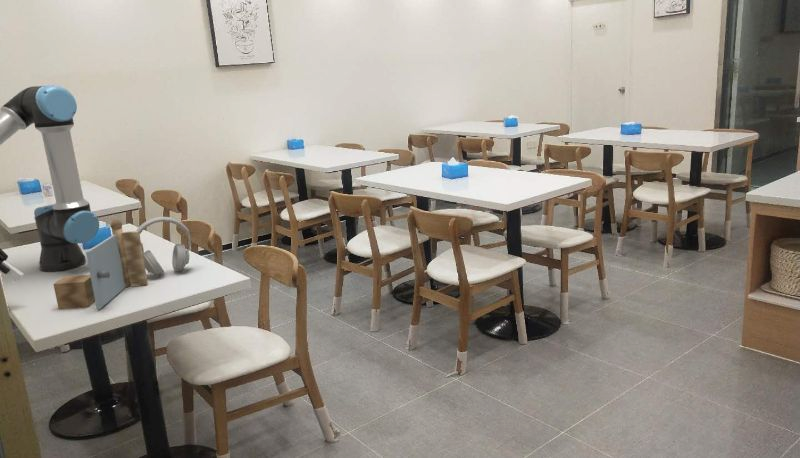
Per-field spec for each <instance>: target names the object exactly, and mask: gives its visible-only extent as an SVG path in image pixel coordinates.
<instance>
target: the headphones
mask: <svg viewBox="0 0 800 458" xmlns="http://www.w3.org/2000/svg"><path fill="white" fill-rule="evenodd" d="M161 222H167V223H171V224H173V225H175V226H177V227H179V228H180V229H181V230H182V231H183V232H184V233H185V235H186V237H187V241H188V245H187V247H188V248H186V245H185V244H184V243H183V244H181V243H179V244H178V243H175V245H174V246H173V250H172V257H171V258H172V259H171V260H172V261H171V262H172V263H171V264H172V269H173V271H180V272H183V270H184V269H185V267H186V265H188V264H189V263H190V252H189V251H190V249H191V246H192V242H191V241H192V240H191V234H190V230H189V228H188V227H187V226H186V225H185V224H184V223H182V222H181V221H180V220H178V219H176V218H173V217H169V216H156V217H152V218H149V219H148V220H146V221H144V222H143V223H141V224H140V225H139V227H138V228H136V230H135V231H139V234H140V235H141V233H142V232H143V231H144V230H145V229H146V228H147V227H149V226H151V225H153V224H157V223H161ZM143 258H144V264H145V270H146V272H147V273H148V274H153V275H155V276H157V277H160V275H162V274H163V273H165V270H164V269H163V267H162V265H161V264H160V263H159V261H158V260H157V258H156V257H155V256H154V254H153V252H152V251H151V249H148V250H146V251H144V253H143Z"/></svg>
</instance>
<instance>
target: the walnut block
mask: <svg viewBox="0 0 800 458" xmlns="http://www.w3.org/2000/svg"><path fill="white" fill-rule="evenodd" d="M53 289H54V293H55V298H56V304H57V308H58V310H63V309H64V310H66V309H79V308H90V307H91V306H92V305H93V304H96V302H95V297H94V292H93V287H92V281H91V276H90V274H80V275H68V276H67V275H65V276H63V277H62V278H60V279H58V280H57V281H56V282H54V283H53Z"/></svg>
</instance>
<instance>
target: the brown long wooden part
mask: <svg viewBox="0 0 800 458" xmlns="http://www.w3.org/2000/svg"><path fill="white" fill-rule="evenodd" d="M110 228H111V232H112V235H117V240H118V245H119V250H120V258H121V264H122V269H123V273H124V279H125V286H126V287H125V288H129V287H142V286H147V285H148V284H149V282H148V276H147V270H146V269H145V264H144V258H143V252H142V246H141V243H142V239H141V234H139V231H136V230H134V231H132V230H131V231H124V230H123V223H122V221H120V220H119V219H115V220H112V221H111V222H110ZM125 288H124V289H125Z"/></svg>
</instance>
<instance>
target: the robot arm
mask: <svg viewBox="0 0 800 458" xmlns="http://www.w3.org/2000/svg"><path fill="white" fill-rule="evenodd" d="M77 105H78V103H77V101H76V99H75V97H74V95H73V94H72V93H71V92H70V91H69V90H68V89H67V88H65V87H62V86H60V85H59V86H58V85H55V84H54V85H53V84H52V85H50V84H48V85H40V86H38V85H35V86H29V87H26V88H24V89H23V90H20V92H18V93H17V94H15V95H14V96H13V97H12V98H10V99H9V100H8V101H6V103H4V104H3V105H2V106H1V107H0V146H2V144H4V143H5V142H6V141H7V140H8V139H10V138H12V136H14V134H16V133H17V132H18V131H19V130H24V131H25V130H26V129H27V128H29V127H30V126H31V125H32V124H34V128H35V130H38V132H39V133H41V137H42V141H43V147H44V151H45V155H46V160H47V165H48V170H49V175H50V179H51V185H52V189H53V194H54V198H55V203H54V204H49V205H43V206H40V207H36V208H35V209H34V212H33V214H34V220H35V224H36V229H37V233H38V238H39V242H40V248H41V249H40V255H39V261H38V265H39V270H40V271H43V272H57V271H59V272H60V271H65V270H66V271H67V270H70V269H75V268H77V267H80V266H81V265H84V264H85V263H86V262H87V260H86V259H87V258H86V256H85V255H86V254H85V253H84V252H83V251H82V248H81V247H80V245H79V244H85V243H88V242H91V241H92V240H93V239H95V237H96V235H97V234H98V232H99V229H100V220H99V218H98V217H97V215H96V214H95V213H94V212H93V211H92V210H91V206H90V205H91V204H90V202H89V201H88V200H86V199H85V198H84V195H83V190H82V184H81V180H80V175H79V170H78V164H77V159H76V153H75V149H74V148H75V147H74V143H73V138H72V134H71V129H72V128H73V127H74V125H75V123H74V117H75V114H76V113H77V108H78V107H77ZM8 258H9V255H8V254H7V253H6V252H5V251H4V250H3V249H2V248H1V247H0V272H2V274H4V275H6V276H7V277H8V278H10V279H11V280H13V281H14V282H15V283H17V282H19V281H20V280H21V278H22V277H23V276H24V274H25V273H23V272H22V271H21V270H19V269H18V268H16V267H15V266H14V265H13V264H12V263H10V262H9V261H8V260H7V259H8Z"/></svg>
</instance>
